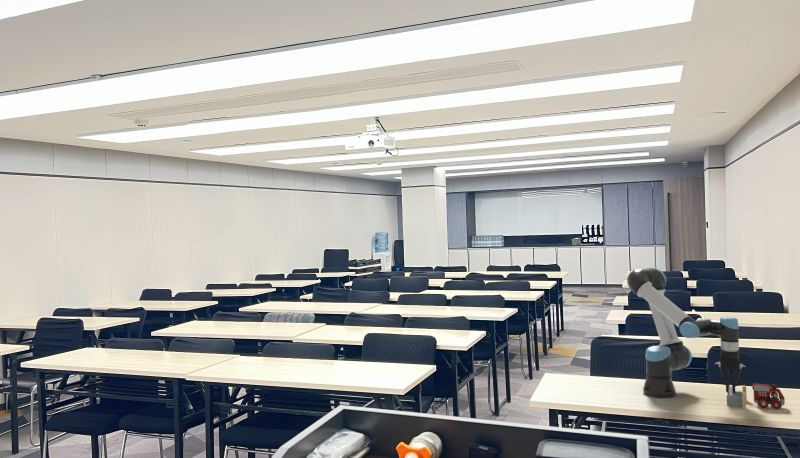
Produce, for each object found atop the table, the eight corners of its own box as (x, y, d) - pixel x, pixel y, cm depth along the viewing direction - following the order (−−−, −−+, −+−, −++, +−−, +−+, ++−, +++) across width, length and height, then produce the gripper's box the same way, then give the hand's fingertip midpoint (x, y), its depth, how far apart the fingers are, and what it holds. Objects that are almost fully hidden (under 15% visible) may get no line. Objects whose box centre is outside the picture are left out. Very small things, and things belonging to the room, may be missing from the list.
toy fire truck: (786, 410, 255) (785, 387, 255) (754, 408, 260) (753, 385, 260) (783, 406, 261) (782, 383, 262) (751, 403, 266) (751, 381, 267)
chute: (726, 406, 263) (726, 391, 263) (728, 398, 276) (727, 384, 276) (746, 408, 259) (745, 393, 259) (746, 400, 272) (746, 385, 272)
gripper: (713, 350, 269) (714, 399, 269) (745, 352, 262) (746, 403, 262) (714, 347, 276) (715, 395, 276) (745, 349, 269) (746, 399, 269)
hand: (730, 399), depth 269 cm, fingers closed
